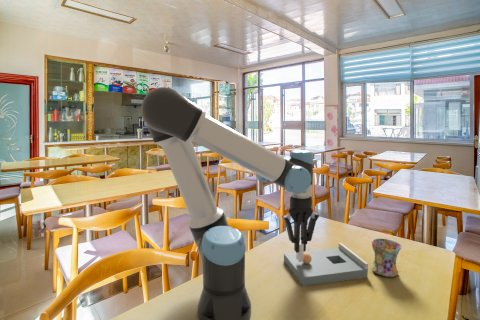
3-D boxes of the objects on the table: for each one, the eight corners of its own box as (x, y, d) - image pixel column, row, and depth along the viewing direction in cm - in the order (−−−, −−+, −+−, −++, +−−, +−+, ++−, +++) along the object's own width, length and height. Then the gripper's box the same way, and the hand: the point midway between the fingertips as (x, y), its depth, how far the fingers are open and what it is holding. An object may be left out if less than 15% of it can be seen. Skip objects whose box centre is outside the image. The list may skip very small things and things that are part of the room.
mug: (405, 277, 100) (407, 248, 98) (381, 280, 98) (383, 251, 97) (382, 260, 111) (384, 234, 110) (360, 263, 110) (361, 236, 108)
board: (302, 286, 95) (302, 271, 94) (283, 261, 112) (284, 248, 111) (367, 277, 100) (368, 263, 99) (340, 254, 117) (341, 242, 116)
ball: (303, 265, 102) (304, 256, 101) (299, 261, 105) (300, 251, 105) (313, 265, 103) (313, 255, 102) (308, 260, 106) (309, 251, 106)
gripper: (287, 200, 95) (286, 267, 98) (323, 197, 97) (321, 262, 101) (279, 194, 102) (278, 257, 106) (313, 191, 105) (311, 253, 108)
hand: (299, 259), depth 103 cm, fingers closed
